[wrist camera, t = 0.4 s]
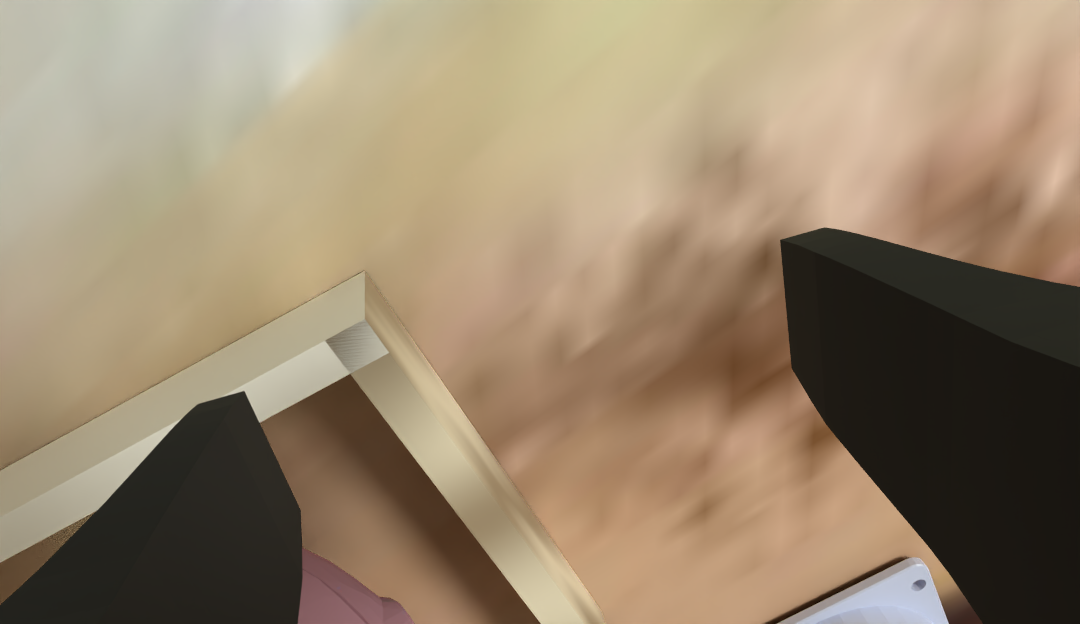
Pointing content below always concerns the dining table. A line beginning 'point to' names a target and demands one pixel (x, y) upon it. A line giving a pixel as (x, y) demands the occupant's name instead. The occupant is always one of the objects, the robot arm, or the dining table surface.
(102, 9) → the dining table surface
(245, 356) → the bay
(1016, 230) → the dining table surface
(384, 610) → the video game controller
